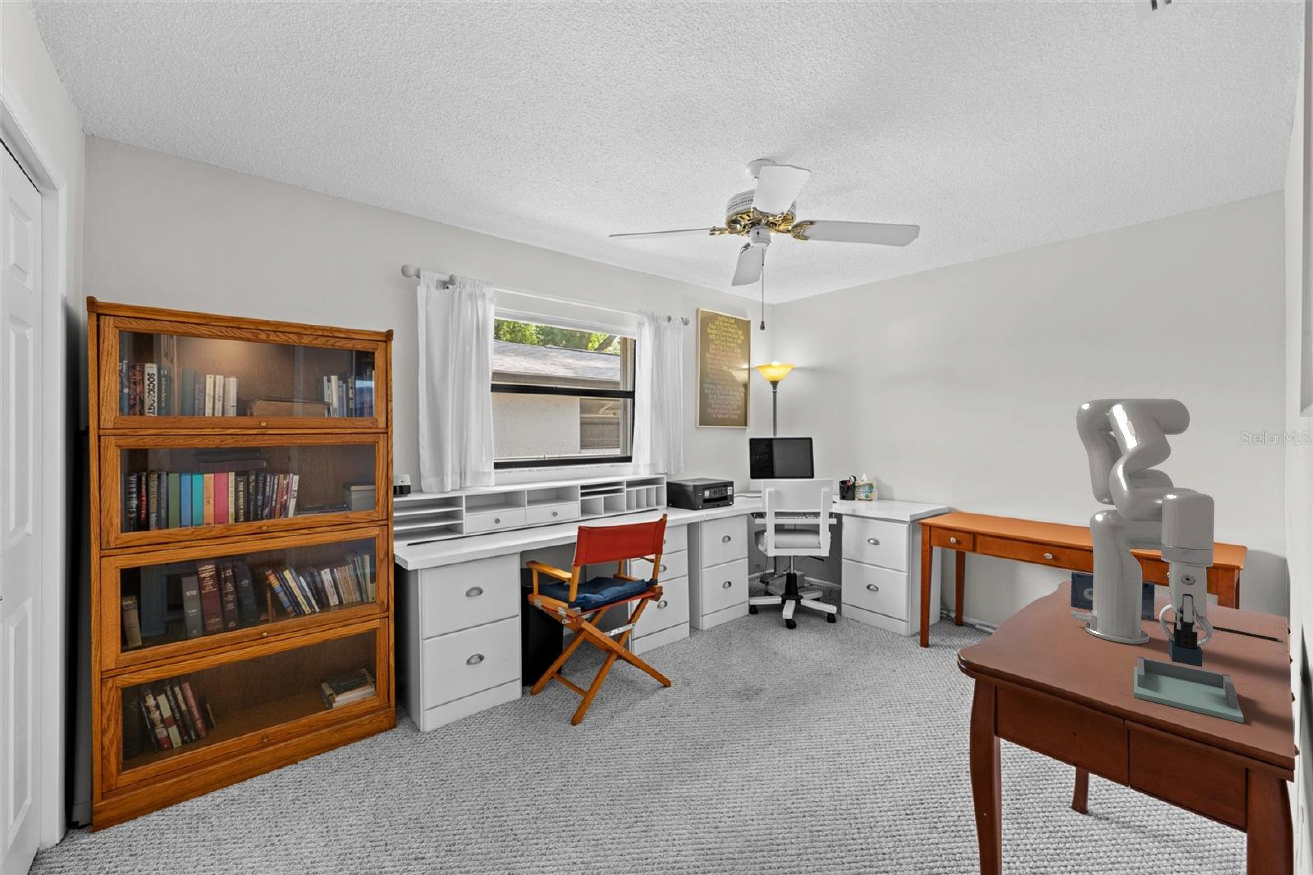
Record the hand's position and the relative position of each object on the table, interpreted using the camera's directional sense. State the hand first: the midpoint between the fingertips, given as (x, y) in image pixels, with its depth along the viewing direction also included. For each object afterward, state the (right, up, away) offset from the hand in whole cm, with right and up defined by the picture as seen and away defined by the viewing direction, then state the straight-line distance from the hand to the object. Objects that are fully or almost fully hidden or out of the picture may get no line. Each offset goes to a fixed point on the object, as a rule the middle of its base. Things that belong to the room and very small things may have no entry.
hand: (1184, 646), depth 112 cm
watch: (0, -3, 0) cm, 3 cm away
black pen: (+43, -9, +30) cm, 53 cm away
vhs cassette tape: (+23, -8, +47) cm, 53 cm away
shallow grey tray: (-1, -10, 0) cm, 10 cm away
